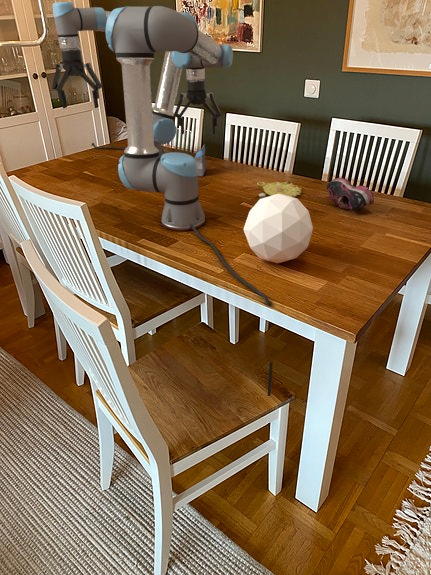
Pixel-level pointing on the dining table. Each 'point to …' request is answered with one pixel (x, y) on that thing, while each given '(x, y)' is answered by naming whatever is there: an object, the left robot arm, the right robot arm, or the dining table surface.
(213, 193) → the dining table surface
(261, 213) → the sphere
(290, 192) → the decorative object
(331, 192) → the athletic shoe
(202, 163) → the label tape box
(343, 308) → the dining table surface
